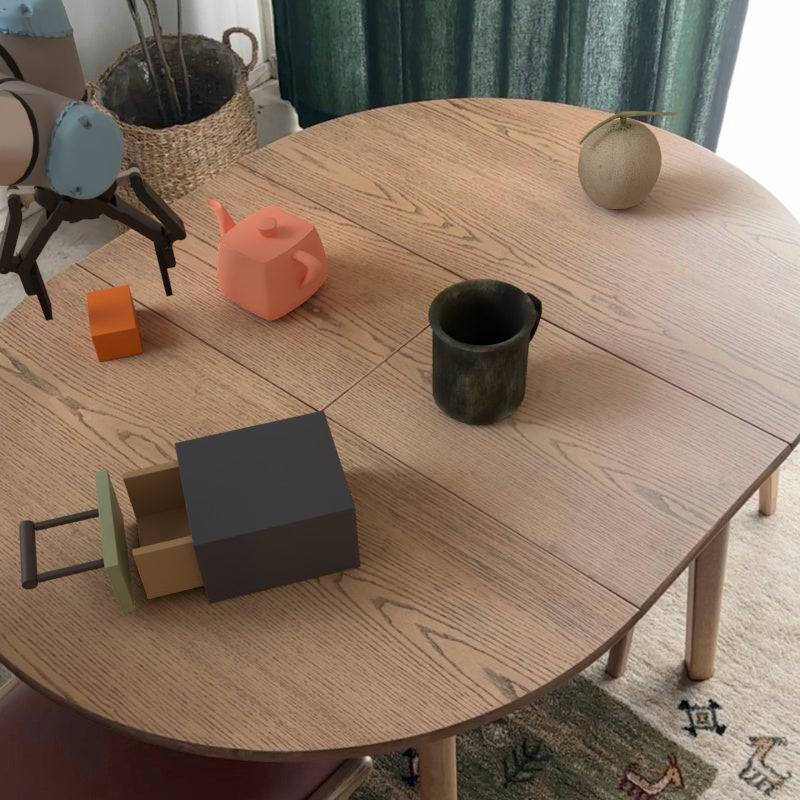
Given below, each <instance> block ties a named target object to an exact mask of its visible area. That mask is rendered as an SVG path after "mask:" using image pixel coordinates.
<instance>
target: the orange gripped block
mask: <svg viewBox="0 0 800 800" xmlns="http://www.w3.org/2000/svg"><path fill="white" fill-rule="evenodd" d="M85 296H86V305H87V313H88V321H89V330H90V338H91V341H92V344H93V346H94V350H95V353H96V356H97V359H98V362H99V363H100V362H106V361H109V360H110V361H111V360H115V359H120V358H125V357H130V356H131V357H132V356H136V355H141V354H143V347H142V341H141V335H140V329H139V328H140V327H139V323H138V317H137V311H136V306H135V303H134V299H133V295H132V291H131V287H130V284H123V285H121V286H120V285H119V286H113V287H108V288H103V289H98V290H92V291H87V292H86V293H85Z"/></svg>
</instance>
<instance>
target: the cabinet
mask: <svg viewBox="0 0 800 800" xmlns="http://www.w3.org/2000/svg"><path fill="white" fill-rule="evenodd" d="M174 448H175V453H176V459H177V460H176V461H178V465H179V471H180V476H181V482H182V487H183V493H184V498H185V504H186V509H187V515H188V520H189V526H190V531H191V537H192V542H193V547H194V550H195V554H196V558H197V562H198V565H199V569H200V572H201V576H202V580H203V583H204V590H205V595H206V598H207V601H208V604H214V603H217V602H222V601H226V600H230V599H234V598H238V597H241V596H246V595H250V594H255V593H259V592H262V591H266V590H270V589H274V588H279V587H282V586H286V585H290V584H295V583H299V582H303V581H308V580H310V579H314V578H318V577H323V576H326V575H331V574H335V573H338V572H343V571H347V570H351V569H355V568H360V567H361V559H360V548H359V546H360V545H359V537H358V536H359V535H358V524H357V523H358V522H357V513H356V505H355V502H354V499H353V497H352V494H351V493H352V492H351V489H350V487H349V484H348V481H347V478H346V474H345V471H344V468H343V466H342V462H341V459H340V457H339V454H338V453H339V452H338V451H337V450H338V449H337V447H336V444H335V441H334V437H333V435H332V432H331V428H330V425H329V423H328V418H327V416H326V413H325V411H324V410H319V411H315V412H310V413H304V414H301V415H296V416H291V417H287V418H282V419H278V420H274V421H268V422H264V423H259V424H255V425H250V426H246V427H242V428H237V429H232V430H228V431H227V430H226V431H223V432H219V433H214V434H209V435H204V436H200V437H196V438H191V439H187V440H182V441H178V442H174Z"/></svg>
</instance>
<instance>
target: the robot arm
mask: <svg viewBox="0 0 800 800" xmlns="http://www.w3.org/2000/svg"><path fill="white" fill-rule="evenodd" d="M65 7H66V6H65V5H64V2H63V0H0V187H7V186H8V187H7V188H6V198H7V199H6V200H7V207H8V210H7V215H6V218H5V224H4V227H3V232H2V235H1V240H0V275H8V274H9V273H13V274H16V275H18V277H19V279H20V282H21V284H22V287H23V291H24V293H25V295H27V296H28V297H32V296H36V297H37V300H38V303H39V306H40V309H41V311H42V313H43V316H44V319H45V322H46V321H53V318H54V317H53V305H52V302H51V299H50V296H49V294H48V290H47V288H46V285H45V282H44V279H43V276H42V273H41V271H40V267H39V264H38V262H37V260H38V258H39V256H40V255H41V254H42V252H43V250H44V249H45V247H46V246H47V244H48V242H49V241H50V239H51V238H52V235H53V234H54V233H56V232H57V231H58V229H59V228H60V226H61V225H62V223H63V222H68V223H69V224H76V223H79V222H82V221H83V220H88V221H89V220H90V221H91V220H96V219H100V216H102V215H104V216H106V217H107V218H109V219H111V220H112V221H114V222H115V221H118V222H119V223H122V224H123V225H124V226H126V227H128V228H129V229H131V230H133V231H135V232H136V233H138V234H140V235H141V236H143V237H145V239H148V240H149V241H151V242H152V243H153V247H154V251H155V255H156V259H157V264H158V268H159V272H160V276H161V281H162V284H163V289H164V292H165V296H166V297H171V296H174V293H173V289H172V284H171V279H170V275H169V272H168V269H173V268H176V265H177V260H176V257H175V252H174V247H173V245H174V243H175V242H177V241H184V240H186V239H187V230H186V227H185V223H184V220H183V219H182V218H181V217H180V216H179V215H178V214H177V213H176V212H175V211H174V209H173V208H172V207H170V206H169V204H168V203H167V202H166V201H165V200H164V199H163V198H162V197H161V195H159V194H158V192H156V191H155V189H154V188H153V187H152V186H151V185H150V184H149V183H148V182H147V181H146V180H145V178H144V176H143V173H142V171H141V169H140V166H139V164H137V163H136V162H132V163H129V164H128V166H127V169H126V170H122V171H121V169H122V167H123V159H124V153H125V141H124V137H123V132H122V130H121V128H120V126H119V125H118V123H117V122H116V120H114V118H113V117H112V116H110V115H109V114H107V113H106V112H104V111H101V110H100V109H98V108H95V107H93V105H92V101H91V99H90V94H89V92H88V89H87V85H86V81H85V76H84V74H83V69H82V66H81V61H80V57H79V53H78V48H77V44H76V40H75V37H74V28H73V27H72V25H71V23H70V20H69V16H68V12H67V11H66V8H65ZM19 186H20V187H31V188H21V189H20V188H19ZM32 187H33V188H32ZM118 187H123V188H124V189H125V190H126V191H127V192H129V193H134V195H135V196H136V198H137V199H138V200H139V202H141V204H142V205H143V206H144V207H145V208H146V209H147V210H148V211H149V212H150V213H151V214H152V215H153V216H154V217H155V219H157V220H155V219H153V218H152V217H151V216H150V215H148V214H146V213H144V212H143V211H141V210H140V209H138V208H136V207H135V206H133V205H132V204H130V203H128V202H127V201H125V200H124V199H122V198H121V196H120V195H119V194H117V192H116V191H117V190H118ZM35 202H36V204H37V205H38V206H40V207H42V208H43V209H42V213H41V215H40V217H39V219H37V222H36V223H35V225H34V226H33V228H32V230H31V232H30V233H29V235H28V236H27V238H26V239H25V241H24V243H23V245H22V246H21V248H20V250H19V251H16V249H17V244H18V240H19V235H20V232H21V229H22V228H21V227H22V225H23V224H22V223H23V213H26V212H27V211H28V210H29V209H30V205H31V204H32V203H35ZM158 221H159V222H158ZM15 251H16V252H15Z"/></svg>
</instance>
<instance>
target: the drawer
mask: <svg viewBox="0 0 800 800" xmlns="http://www.w3.org/2000/svg"><path fill="white" fill-rule="evenodd" d="M121 476H122V480H123V484H124V486H125V490H126V492H127V495H128V496H127V497H128V498H129V502H130V504H131V508H132V510H133V514H134V517H135V522H136V530H137V536H138V542H139V543H138V544H139V547H137V548H132V557H133V559H134V563H135V565H136V568H137V572H138V574H139V577H140V580H141V583H142V586H143V589H144V592H145V595H146V597H147V599H148V600H150V599H155V598H159V597H163V596H167V595H172V594H175V593H179V592H183V591H187V590H191V589H192V590H193V589H195V588H199V587H203V586H204V583H203V580H202V576H201V572H200V569H199V565H198V562H197V558H196V554H195V550H194V547H193V542H192V537H191V531H190V526H189V520H188V515H187V509H186V504H185V498H184V493H183V487H182V482H181V476H180V471H179V465H178V460H173V461H170V462H165V463H161V464H156V465H152V466H148V467H142V468H138V469H134V470H129V471H124V472H122V475H121ZM94 482H95V491H96V500H97V508H94V509H90V510H86V511H81V512H77V513H72V514H67V515H63V516H60V517H54V518H50V519H45V520H42V521H36V522H34V521H33V520H31V519H26V520H22V521H20V523H19V524H18V532H19V533H18V534H19V535H18V536H19V557H20V559H19V560H20V582H21V588H22V589H24V590H28V591H29V590H30V591H31V590H34V589H36V588H37V587H38V585H39V584H41V583H44V582H49V581H54V580H57V579H61V578H65V577H70V576H73V575H78V574H82V573H87V572H91V571H94V570H99V569H103V568H104V570H105V572H106V575H107V578H108V580H109V584H110V586H111V589H112V591H113V593H114V596H115V598H116V601H117V604H118V606H119V609H120V611H121V614H127V613H132V612H135V611H136V605H135V597H134V590H133V581H132V574H131V566H130V558H129V551H128V544H127V535H126V526H125V520H124V519H125V518H124V514H123V511H122V509H121V506H120V503H119V501H118V497H117V494H116V491H115V488H114V486H113V482H112V480H111V476H110V473H109V471H108V469H107V468H106V469H102V470H97V471H94ZM95 518H98V519H99V528H100V529H99V530H100V538H101V547H102V557H103V558H100V559H95V560H91V561H87V562H83V563H79V564H74V565H71V566H66V567H61V568H57V569H53V570H49V571H45V572H41V573H39V572H38V557H37V556H38V555H37V539H36V536H37V535H36V532H39V531H44V530H47V529H52V528H56V527H61V526H64V525H69V524H73V523H78V522H82V521H87V520H91V519H95Z"/></svg>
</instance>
